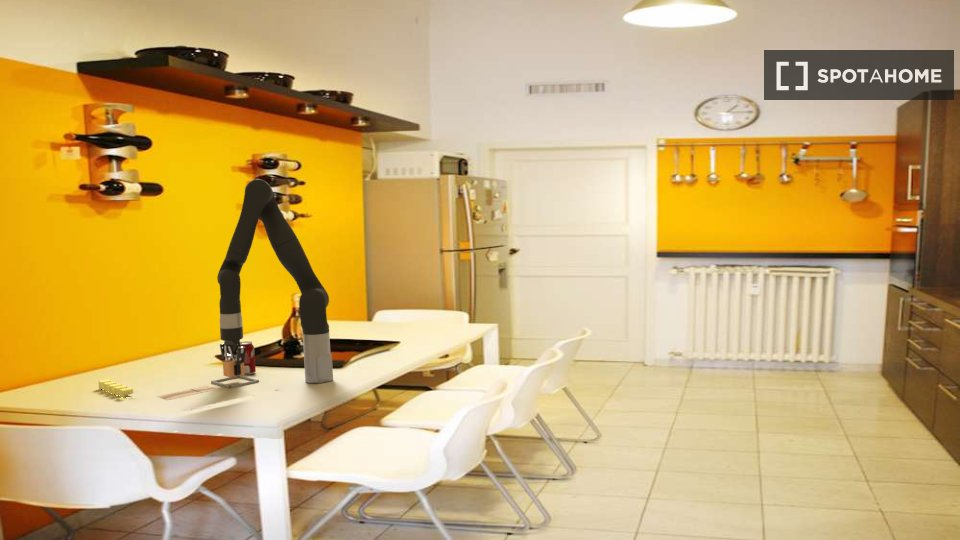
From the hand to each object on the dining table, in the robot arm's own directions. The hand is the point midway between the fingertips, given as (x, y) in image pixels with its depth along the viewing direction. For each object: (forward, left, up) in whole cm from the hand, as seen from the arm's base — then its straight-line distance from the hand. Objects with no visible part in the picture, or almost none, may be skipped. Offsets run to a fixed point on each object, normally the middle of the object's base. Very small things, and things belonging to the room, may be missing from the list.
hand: (233, 373), depth 270 cm
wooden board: (0, +17, -5) cm, 18 cm away
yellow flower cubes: (+28, +28, -5) cm, 40 cm away
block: (0, 0, 0) cm, 0 cm away
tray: (0, 0, -5) cm, 5 cm away
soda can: (+15, -13, -5) cm, 20 cm away
